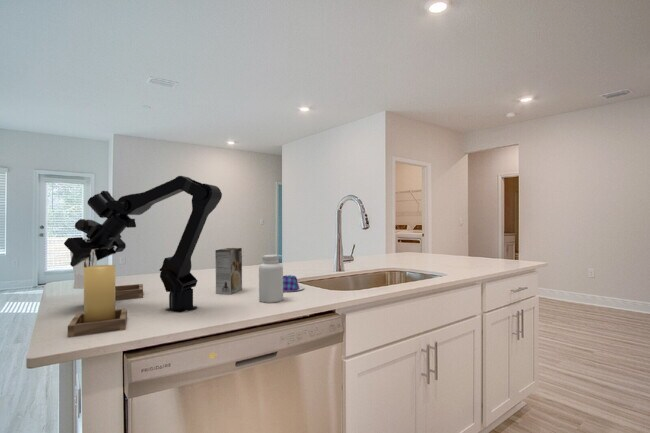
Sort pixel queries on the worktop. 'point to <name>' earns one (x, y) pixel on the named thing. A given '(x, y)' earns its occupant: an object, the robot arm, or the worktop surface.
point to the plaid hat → (290, 284)
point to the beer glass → (80, 268)
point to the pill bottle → (270, 279)
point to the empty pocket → (128, 292)
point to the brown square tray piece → (97, 324)
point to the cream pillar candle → (99, 293)
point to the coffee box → (228, 270)
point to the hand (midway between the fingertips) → (80, 264)
